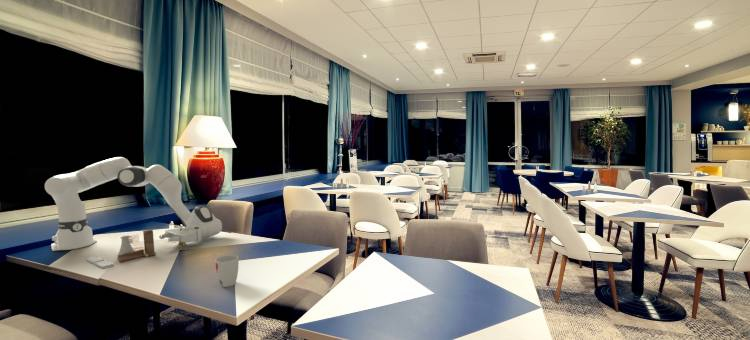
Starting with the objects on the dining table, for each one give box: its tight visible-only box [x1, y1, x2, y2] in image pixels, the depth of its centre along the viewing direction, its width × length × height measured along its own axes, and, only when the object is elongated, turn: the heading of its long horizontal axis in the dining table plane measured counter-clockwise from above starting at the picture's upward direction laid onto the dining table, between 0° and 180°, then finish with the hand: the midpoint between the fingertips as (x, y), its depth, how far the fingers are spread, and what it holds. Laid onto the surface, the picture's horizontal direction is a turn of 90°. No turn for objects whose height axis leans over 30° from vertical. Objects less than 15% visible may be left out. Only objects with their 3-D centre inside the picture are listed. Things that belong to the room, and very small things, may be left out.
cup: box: [214, 254, 240, 288], centre depth 134 cm, size 8×8×10 cm
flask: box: [116, 235, 134, 260], centre depth 170 cm, size 7×7×10 cm
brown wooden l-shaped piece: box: [117, 229, 157, 263], centre depth 172 cm, size 20×14×12 cm
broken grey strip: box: [85, 255, 114, 269], centre depth 162 cm, size 20×4×1 cm, turn 55°
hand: (164, 238), depth 177 cm, fingers open, 8 cm apart
